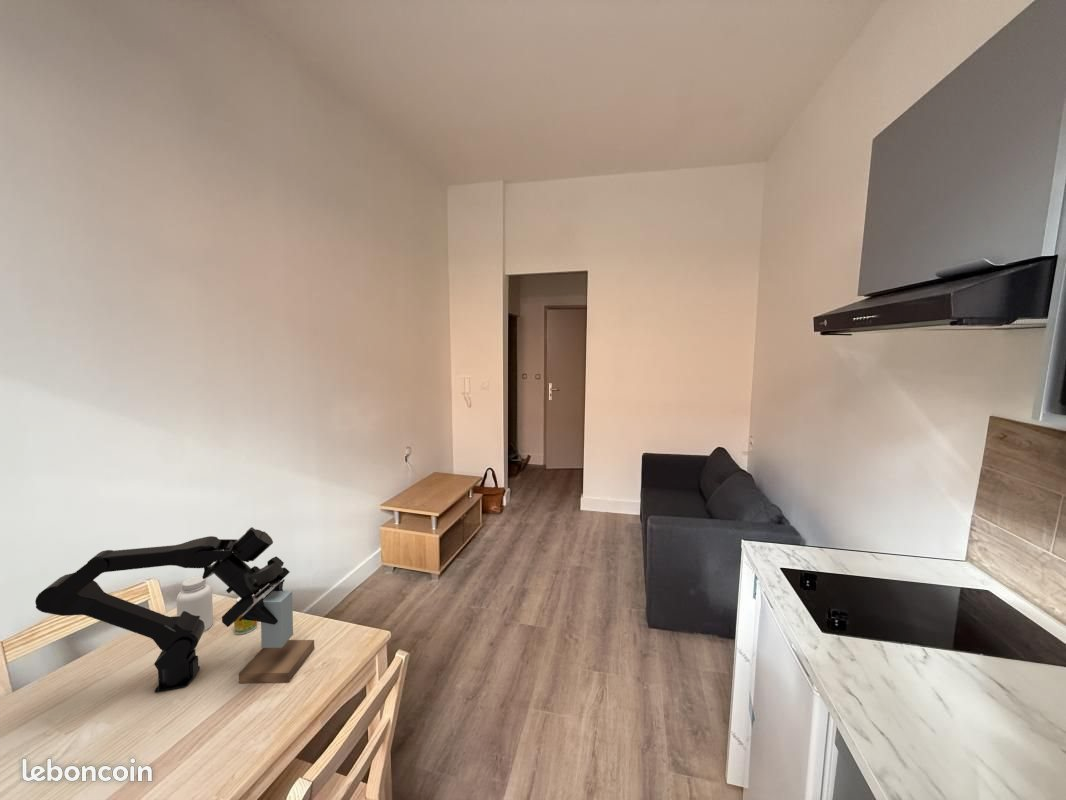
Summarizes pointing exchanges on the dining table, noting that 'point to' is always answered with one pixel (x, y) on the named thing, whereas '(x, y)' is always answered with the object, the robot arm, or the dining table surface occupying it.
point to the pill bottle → (196, 600)
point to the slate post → (283, 612)
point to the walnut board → (277, 663)
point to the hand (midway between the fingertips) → (282, 616)
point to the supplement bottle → (243, 624)
